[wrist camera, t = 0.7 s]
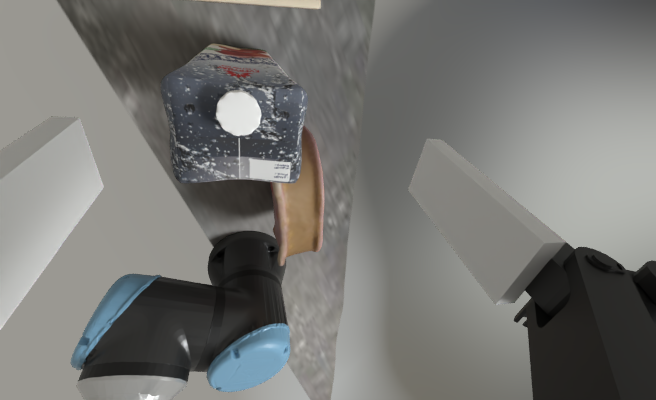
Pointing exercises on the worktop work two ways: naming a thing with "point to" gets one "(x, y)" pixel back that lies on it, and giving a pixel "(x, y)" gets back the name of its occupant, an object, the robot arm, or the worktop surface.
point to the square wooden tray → (273, 3)
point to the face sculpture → (300, 205)
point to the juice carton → (234, 117)
